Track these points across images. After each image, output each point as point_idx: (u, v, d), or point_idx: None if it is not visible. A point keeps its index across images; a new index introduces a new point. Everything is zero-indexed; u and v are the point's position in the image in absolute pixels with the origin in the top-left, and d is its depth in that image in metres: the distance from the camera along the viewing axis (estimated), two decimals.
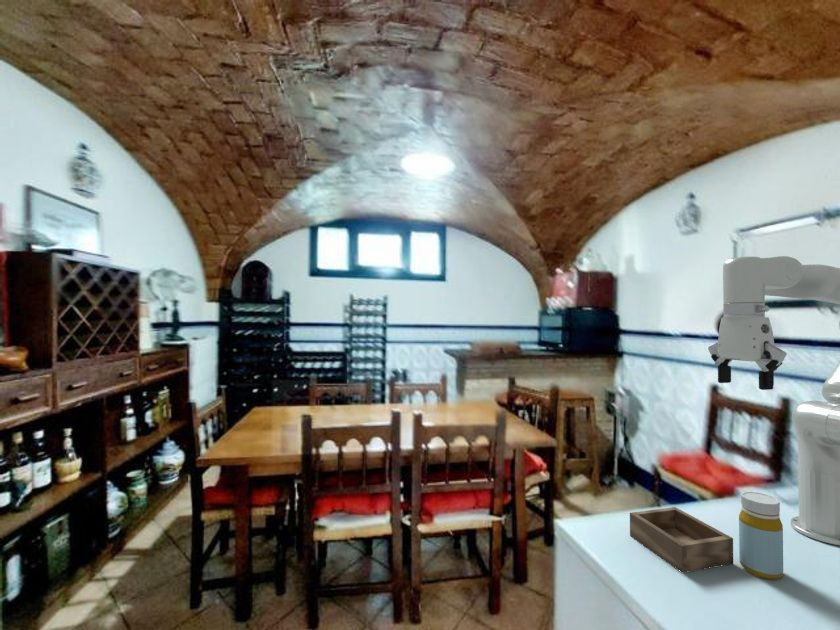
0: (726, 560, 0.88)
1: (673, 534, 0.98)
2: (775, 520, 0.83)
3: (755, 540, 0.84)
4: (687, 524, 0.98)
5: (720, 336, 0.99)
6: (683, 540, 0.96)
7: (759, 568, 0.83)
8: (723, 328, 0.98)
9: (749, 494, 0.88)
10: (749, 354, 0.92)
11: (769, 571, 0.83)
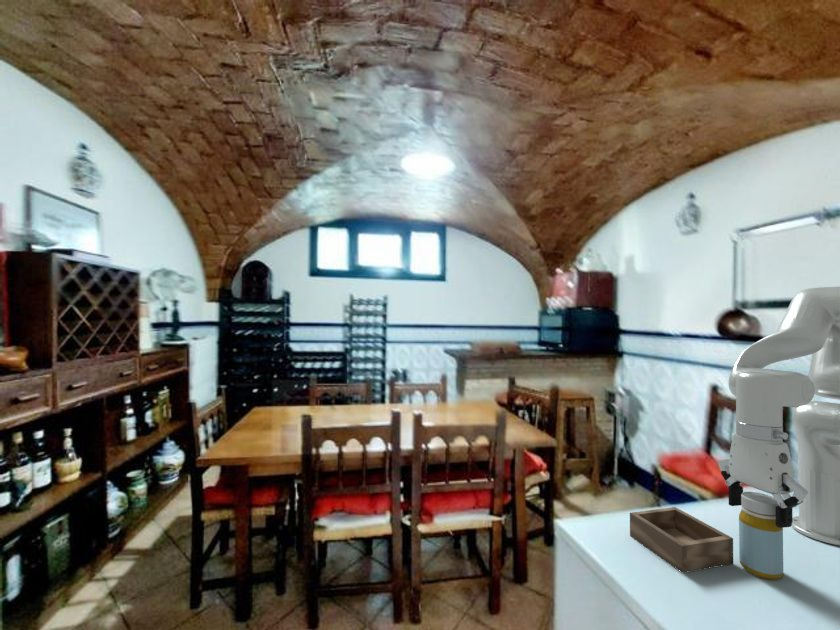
0: (726, 560, 0.88)
1: (673, 534, 0.98)
2: (775, 520, 0.83)
3: (755, 540, 0.84)
4: (687, 524, 0.98)
5: (732, 455, 0.89)
6: (683, 540, 0.96)
7: (759, 568, 0.83)
8: (736, 447, 0.88)
9: (749, 494, 0.88)
10: (765, 484, 0.82)
11: (769, 571, 0.83)
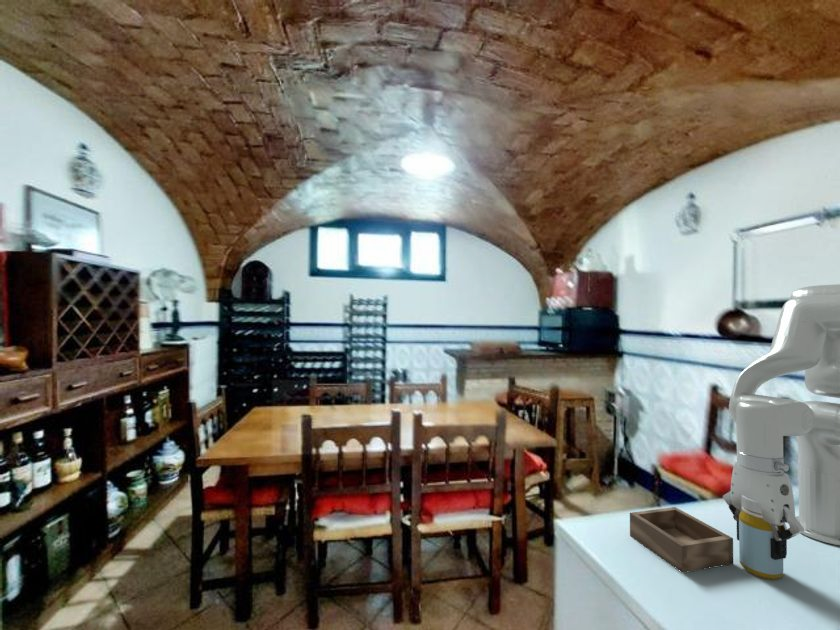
0: (726, 560, 0.88)
1: (673, 534, 0.98)
2: None
3: (755, 540, 0.84)
4: (687, 524, 0.98)
5: (733, 484, 0.89)
6: (683, 540, 0.96)
7: (759, 568, 0.83)
8: (737, 476, 0.88)
9: None
10: (766, 516, 0.83)
11: (769, 571, 0.83)
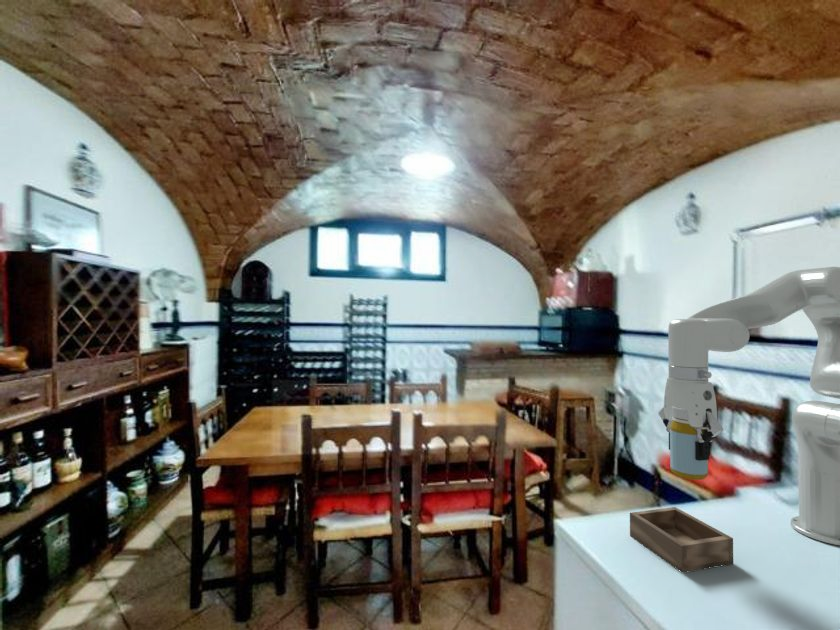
0: (726, 560, 0.88)
1: (673, 534, 0.98)
2: None
3: (682, 444, 0.91)
4: (687, 524, 0.98)
5: (666, 397, 0.96)
6: (683, 540, 0.96)
7: (685, 470, 0.90)
8: (669, 389, 0.95)
9: None
10: (692, 420, 0.90)
11: (694, 472, 0.89)
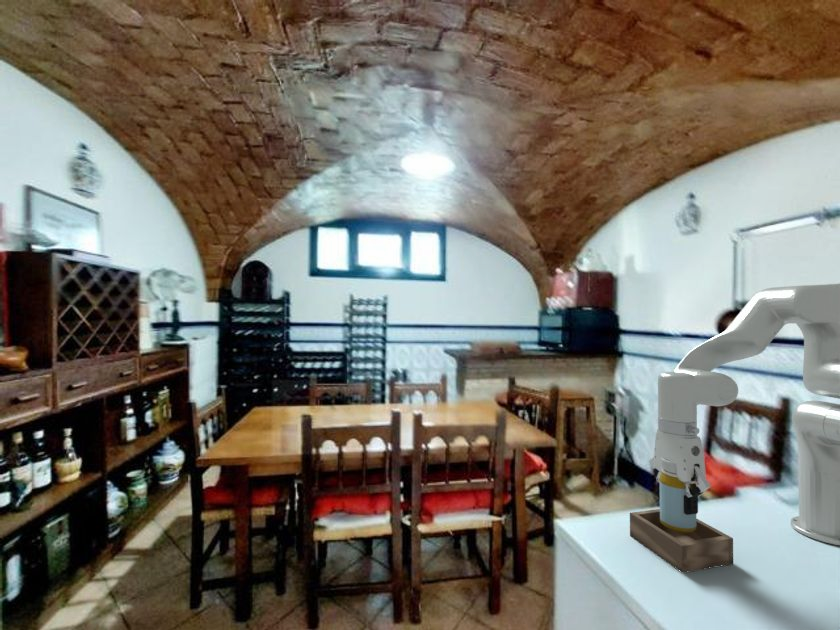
0: (726, 560, 0.88)
1: (673, 534, 0.98)
2: None
3: (671, 497, 0.92)
4: None
5: (655, 448, 0.97)
6: (683, 540, 0.96)
7: (674, 523, 0.91)
8: (658, 441, 0.96)
9: None
10: (680, 475, 0.91)
11: (682, 525, 0.91)
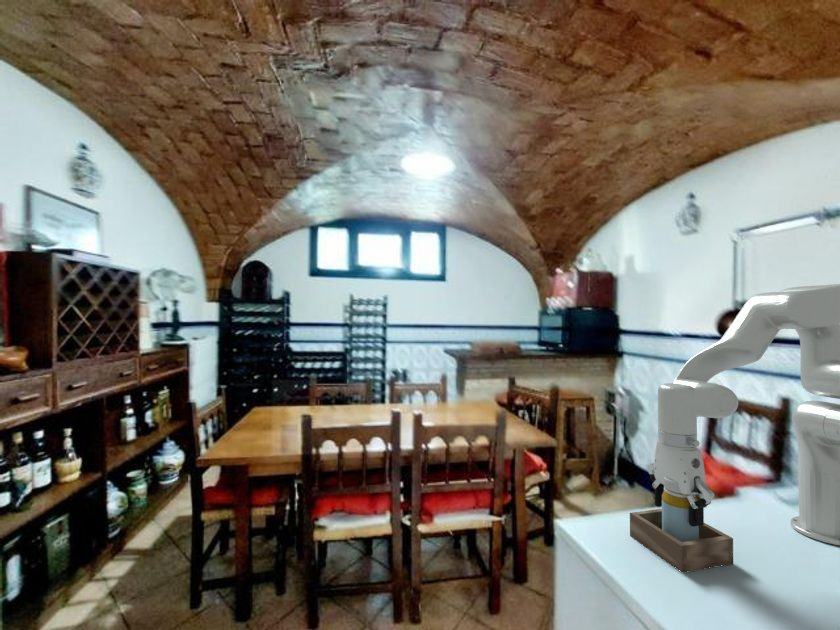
0: (726, 560, 0.88)
1: None
2: None
3: (673, 517, 0.92)
4: None
5: (656, 460, 0.97)
6: None
7: None
8: (658, 453, 0.96)
9: None
10: (680, 487, 0.91)
11: None
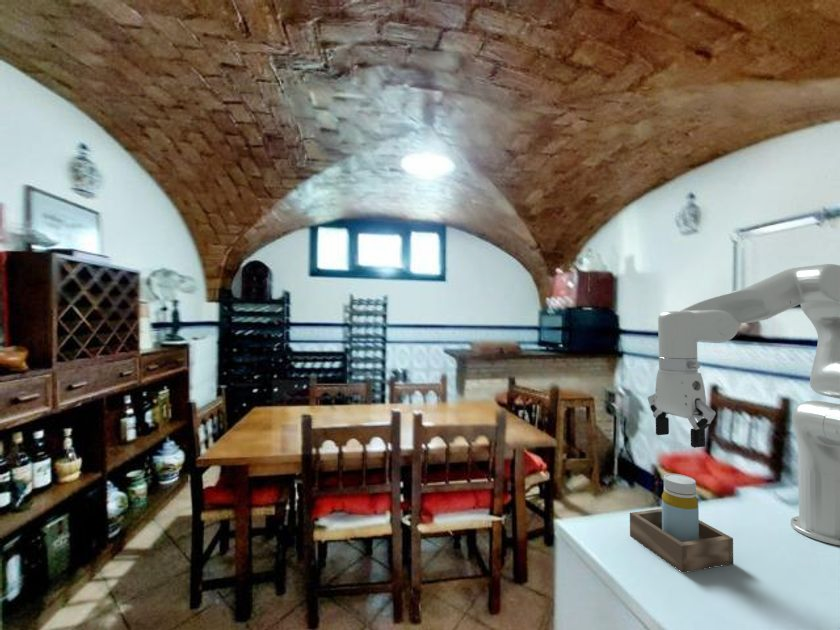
0: (726, 560, 0.88)
1: None
2: (691, 499, 0.91)
3: (673, 517, 0.92)
4: None
5: (657, 388, 0.98)
6: None
7: None
8: (659, 381, 0.97)
9: (671, 476, 0.96)
10: (682, 410, 0.91)
11: None
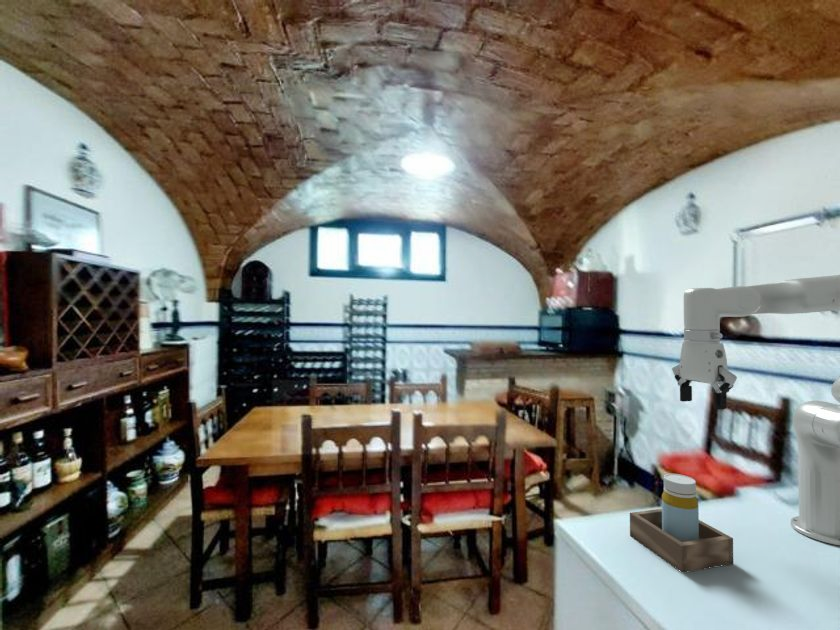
0: (726, 560, 0.88)
1: None
2: (691, 499, 0.91)
3: (673, 517, 0.92)
4: None
5: (681, 359, 1.08)
6: None
7: None
8: (684, 351, 1.07)
9: (671, 476, 0.96)
10: (705, 377, 1.01)
11: None
